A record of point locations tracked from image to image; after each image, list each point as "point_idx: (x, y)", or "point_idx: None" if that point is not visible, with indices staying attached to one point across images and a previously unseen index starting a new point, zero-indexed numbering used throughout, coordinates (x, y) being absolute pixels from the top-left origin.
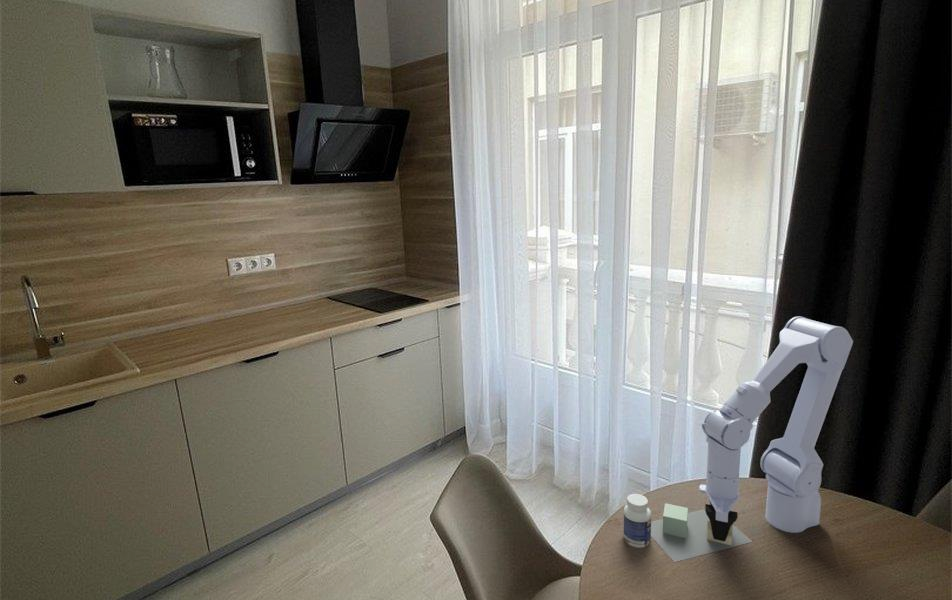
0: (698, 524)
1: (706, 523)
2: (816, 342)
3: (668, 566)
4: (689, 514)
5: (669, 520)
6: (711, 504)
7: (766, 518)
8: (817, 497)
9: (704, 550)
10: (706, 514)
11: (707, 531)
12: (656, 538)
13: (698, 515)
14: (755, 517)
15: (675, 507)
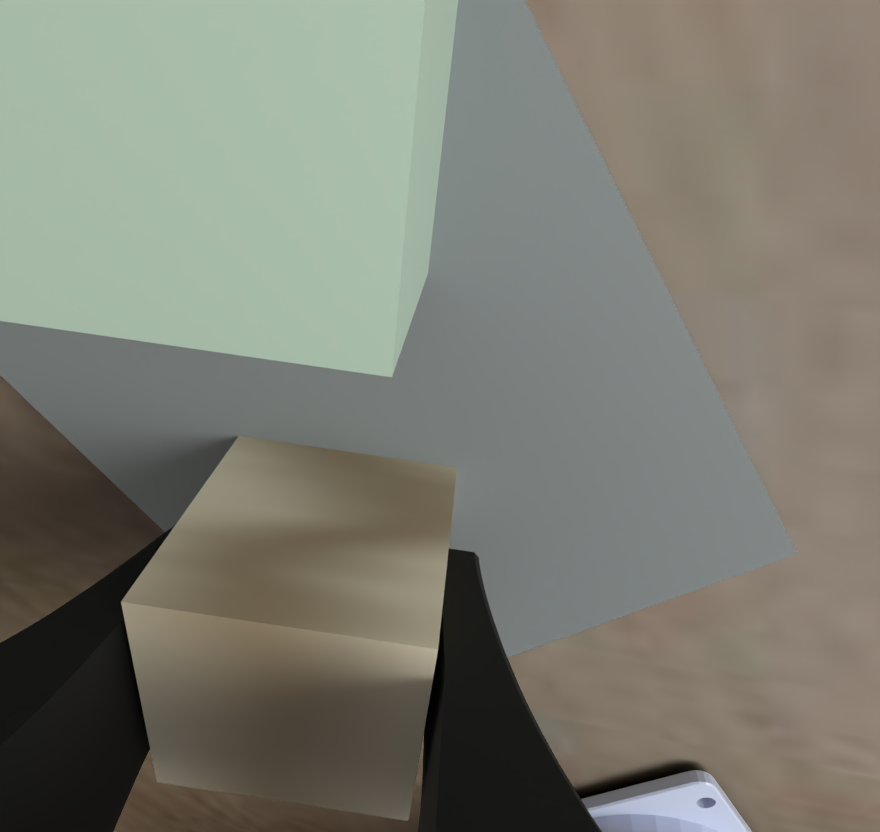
0: (468, 393)
1: (501, 468)
2: None
3: None
4: (644, 321)
5: None
6: (440, 731)
7: (643, 829)
8: None
9: (68, 394)
10: (662, 490)
11: (197, 494)
12: None
13: (638, 413)
14: (693, 760)
15: (332, 135)
